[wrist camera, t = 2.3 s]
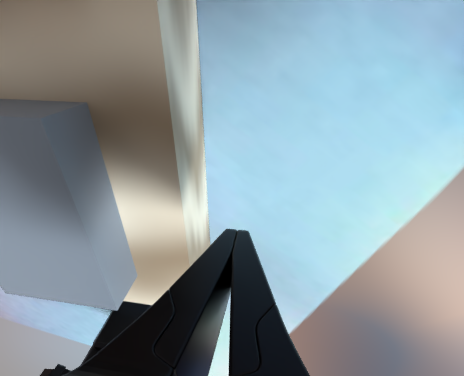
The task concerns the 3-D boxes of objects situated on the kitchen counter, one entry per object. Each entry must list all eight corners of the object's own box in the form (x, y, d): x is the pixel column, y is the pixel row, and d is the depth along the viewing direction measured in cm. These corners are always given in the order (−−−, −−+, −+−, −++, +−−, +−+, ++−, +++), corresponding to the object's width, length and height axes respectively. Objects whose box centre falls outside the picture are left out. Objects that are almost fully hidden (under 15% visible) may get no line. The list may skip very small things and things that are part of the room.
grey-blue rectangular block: (137, 276, 13) (117, 310, 12) (38, 262, 14) (5, 293, 12) (87, 102, 9) (40, 118, 7) (-59, 96, 9) (-133, 109, 8)
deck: (210, 258, 18) (195, 311, 14) (58, 240, 19) (12, 284, 16) (182, -230, 7) (98, -471, 4) (-148, -185, 9) (-421, -328, 5)
